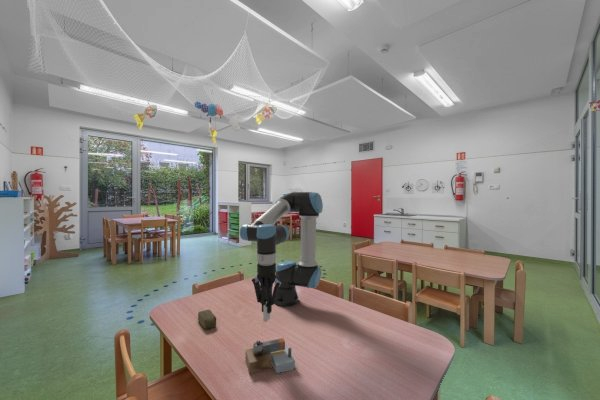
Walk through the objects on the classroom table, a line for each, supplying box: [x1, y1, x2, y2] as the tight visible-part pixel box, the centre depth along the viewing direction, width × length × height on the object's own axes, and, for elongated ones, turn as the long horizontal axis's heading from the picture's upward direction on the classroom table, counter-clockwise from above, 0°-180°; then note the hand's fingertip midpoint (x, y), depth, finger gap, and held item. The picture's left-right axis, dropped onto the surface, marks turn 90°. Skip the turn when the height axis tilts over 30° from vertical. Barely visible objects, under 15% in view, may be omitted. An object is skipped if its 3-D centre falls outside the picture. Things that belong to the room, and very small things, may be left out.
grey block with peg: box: [270, 343, 296, 374], centre depth 97 cm, size 7×15×6 cm, turn 21°
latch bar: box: [252, 337, 286, 356], centre depth 95 cm, size 12×4×4 cm, turn 111°
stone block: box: [197, 309, 217, 330], centre depth 123 cm, size 6×12×5 cm, turn 38°
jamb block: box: [244, 347, 272, 375], centre depth 94 cm, size 8×8×4 cm
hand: (266, 319), depth 103 cm, fingers closed
